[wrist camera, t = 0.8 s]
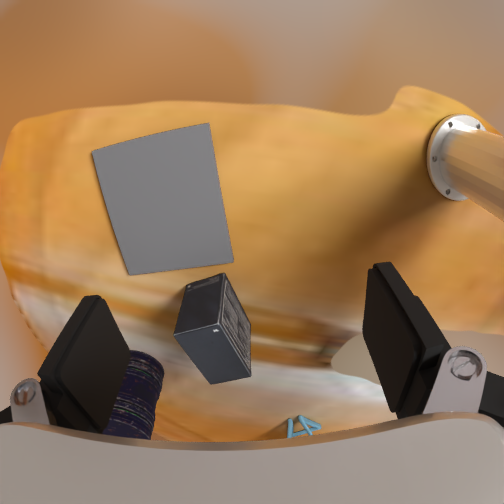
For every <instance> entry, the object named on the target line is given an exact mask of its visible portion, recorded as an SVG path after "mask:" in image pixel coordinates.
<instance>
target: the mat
mask: <svg viewBox="0 0 504 504" xmlns="http://www.w3.org/2000/svg"><path fill="white" fill-rule="evenodd" d="M92 155H93V159H94V163H95V167H96V171H97V175H98V178H99V182H100V186H101V189H102V193H103V196H104V200H105V203H106V207H107V210H108V213H109V216H110V220H111V223H112V226H113V229H114V232H115V235H116V238H117V241H118V244H119V247H120V250H121V253H122V256H123V258H124V261H125V264H126V267H127V269H128V272H129V275H137V274H145V273H154V272H162V271H170V270H178V269H186V268H193V267H201V266H209V265H217V264H225V263H233V262H234V258H233V253H232V247H231V242H230V237H229V231H228V226H227V221H226V215H225V210H224V204H223V199H222V193H221V188H220V182H219V176H218V171H217V165H216V159H215V154H214V148H213V142H212V136H211V130H210V124H209V123H205V124H200V125H194V126H189V127H184V128H179V129H175V130H170V131H165V132H161V133H157V134H152V135H148V136H144V137H140V138H136V139H132V140H129V141H125V142H121V143H118V144H114V145H110V146H107V147H104V148H100V149H97V150H94V151H92Z"/></svg>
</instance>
